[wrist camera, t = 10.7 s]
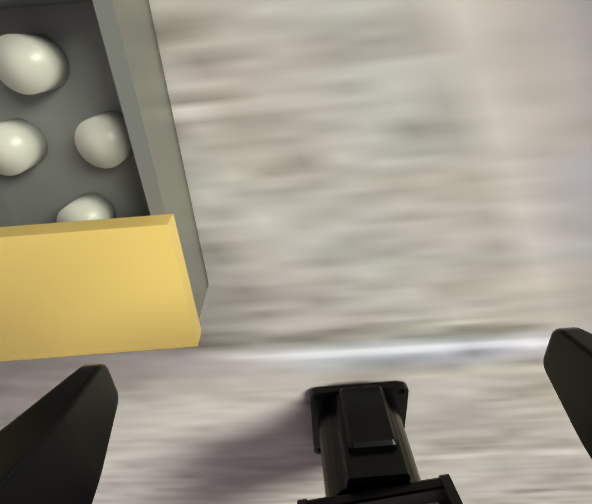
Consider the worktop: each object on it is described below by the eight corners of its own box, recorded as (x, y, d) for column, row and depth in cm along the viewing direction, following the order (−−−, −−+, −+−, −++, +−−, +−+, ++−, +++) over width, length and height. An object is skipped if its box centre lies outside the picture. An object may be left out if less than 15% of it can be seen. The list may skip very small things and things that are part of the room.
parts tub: (213, 283, 22) (197, 346, 17) (41, 297, 22) (-18, 362, 17) (152, -21, 15) (99, -43, 11) (-100, -2, 15) (-257, -17, 10)
